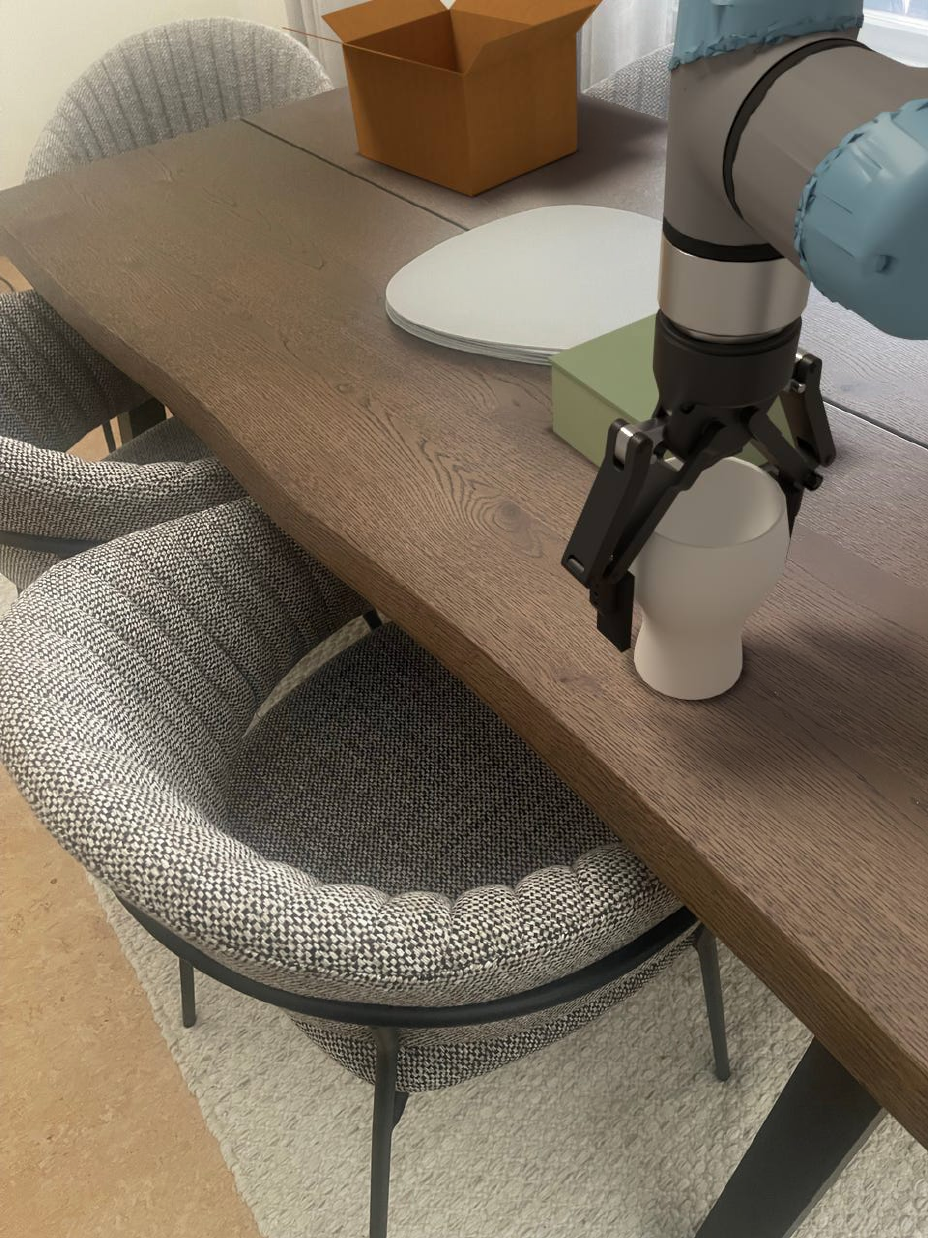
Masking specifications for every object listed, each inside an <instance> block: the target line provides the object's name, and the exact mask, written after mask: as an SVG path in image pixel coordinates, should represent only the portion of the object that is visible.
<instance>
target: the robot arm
mask: <svg viewBox="0 0 928 1238" xmlns="http://www.w3.org/2000/svg"><path fill="white" fill-rule="evenodd" d="M864 21H865V14H864V0H678V7H677V17H676V25H675V34H674V41H673V49H672V56H671V57H670V59H669V60H668V66H667V69H668V72H669V73H670V79H669V95H668V97H669V99H668V119H667V135H666V138H667V139H666V154H665V155H666V157H665V172H664V173H665V175H664V192H663V193H664V197H663V212H662V225H661V235H660V252H659V266H658V282H657V298H656V299H657V303H658V306H659V308H658V310H657V312H656V313H657V314H656V318H655V333H654V349H653V373H654V376H655V380H656V383H657V387H658V391H659V399H658V402H657V405H656V408H655V410H654V412H653V414H652V417H651V419H649V420H646V421H643V422H640V423H637V424H634V425H631V424H630V423H628V422H627V421H626V420H624V419H622V418H618V419H616V420H614V421H613V422H612V423H611V425H610V427H609V430H608V436H607V444H606V451H605V457H604V460H603V462H602V464H601V467H599V469H598V471H597V474H596V476H595V478H594V480H593V483H592V486H591V488H590V490H589V493H588V495H587V498H586V500H585V502H584V505H583V507H582V509H581V512H580V514H579V516H578V518H577V521H576V524H575V526H574V528H573V531H572V533H571V535H570V538H569V540H568V541H567V542H568V543H567V544H566V547H565V550H564V552H563V555H562V556H561V559H560V565H561V566H562V567H563V569H565V570H566V571H567V573H569V574H570V575H571V576H572V577H573V578H574V579H576V581H577V582H578V583H579V584H581V585H582V586H583V587H584V588H585V589H586V590H588V592H589V595H588V602H589V603H590V605H591V606H592V607H593V608H594V609H595V610H596V630H597V631H599V633H601V635H602V636H603V637H604V638H605V639H606V640H608V642H610V644H612V645H613V646H614V647H615V648H616V649H617V650H618V652H620V653H621V654H622V653H625V652H626V651H628V650H630V649H632V635H633V617H634V602H635V601H634V600H635V598H634V587H635V576H634V575H633V574H632V573H630V572H629V571H628V569H629V567H630V566H631V564H632V563H633V561H634V560H635V558H636V557H637V555H638V554H639V552H640V551H641V549H642V548H643V546H644V545H645V543H646V542H647V540H648V539H649V537H650V536H651V534H652V533H653V531H654V530H655V528H656V527H657V525H658V524H659V522H660V521H661V519H662V518H663V516H664V515H665V513H666V512H667V510H668V509H669V507H670V506H671V504H672V503H673V501H674V500H675V498H676V497H677V495H678V494H679V493H680V492H681V491H687V490H689V489H690V488H691V487H692V486H693V484H694V483H695V481H696V480H697V478H698V477H699V475H700V474H701V472H702V471H704V470H706V469H708V468H710V467H712V466H713V465H715V464H716V463H718V462H719V461H720V460H722V459H723V458H728V457H733V456H735V455H737V454H739V453H741V452H742V451H743V447H744V446H745V445H746V444H747V443H748V442H750V443H751V444H752V445H753V446H754V447H755V448H756V449H757V450H758V451H759V452H760V453H761V454H762V455H763V456H764V457H765V458H766V459H767V460H768V462H769V463H770V464H771V466H772V467H773V468H774V469H776V470H778V472H777V473H776V472H775V471H773V470H769V471H766V472H767V473H768V474H769V475H770V476H771V477H772V478H773V479H774V480H776V481H777V482H778V484H779V486H780V487H781V489H782V491H783V493H784V495H785V498H786V507H787V517H788V527H789V536H790V542H789V545H790V544H791V539H792V535H793V530H794V526H795V521H796V517H797V516H798V515H799V512H800V511H801V506H802V501H803V498H804V493H805V489H806V490H808V491H809V492H811V493H812V492H815V491H816V490H818V489H819V488H820V487H821V486H822V484H823V481H824V476H823V475H822V474H820V473H819V472H817V471H816V469H817V468H818V467H820V466H821V467H823V468H828V467H830V466H831V465H832V464H833V463H834V462H835V460H836V458H837V449H836V445H835V442H834V437H833V435H832V430H831V426H830V423H829V419H828V415H827V411H826V407H825V403H824V400H823V396H822V392H821V388H820V387H821V386H820V385H821V379H822V370H823V360H822V358H820V357H819V356H816V355H814V354H813V353H811V352H809V351H807V350H806V349H803V348H802V347H800V346H799V343H800V338H801V334H802V333H801V332H802V328H803V318H802V315H803V313H804V311H805V310H806V308H807V307H808V302H809V295H810V290H811V285H813V287H814V288H815V289H816V291H818V292H819V293H820V294H821V295H822V296H823V297H825V298H827V299H828V301H830V302H831V303H833V304H834V303H837V304H839V305H840V306H841V307H842V308H844V310H846V311H852V312H854V313H855V314H857V315H858V317H861V318H862V319H863V320H864V321H866V322H868V323H869V324H870V325H872V326H873V327H874V328H876V329H877V330H879V332H882V333H884V334H886V335H888V336H891V337H894V338H897V339H902V340H907V341H928V67H923V66H922V67H921V66H919V67H918V66H911V65H907V64H905V63H902V62H901V61H898V60H896V59H893V58H892V57H889V56H887V55H886V54H883V53H880V52H878V51H876V50H875V49H872V48H870V46H868V45H866V44H865V43H863V42H861V41H859V40H858V37H859V33H860V30H861V29H863V26H864ZM811 283H812V284H811ZM778 395H779V398H780V401H781V404H782V407H783V410H784V414H785V417H786V420H787V423H788V426H789V429H790V432H791V435H792V439H793V442H794V445H795V449H794V448H793V447H792V446H791V445H790V444H789V443H788V441H787V440H786V439H785V438H784V437H783V436H782V432H781V431H780V430H779V429H778V428H777V427H776V425H775V424H774V423H773V422H772V421H771V420H770V419H769V416H768V415H767V413H768V411H769V410H770V408H771V406H772V405H773V403H774V402H775V400H776V398H777V397H778ZM667 449H668V450H669V451H670V453H671V454H672V455H673V456H674V457H675V458H677V459H678V460H679V461H681V462H682V463H684V464H683V466H682V467H681V469H680V470H679V471H678V470H676V469H675V468H674V467H672V466H671V465H670V464H668V463H667V462H666V461H665V460H664V454H665V452H666V451H667ZM789 549H790V546H789V547H788V551H787V556H786V559H787V558H788V553H789ZM786 562H787V560H786V561H785V564H786Z"/></svg>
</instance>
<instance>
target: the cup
mask: <svg viewBox="0 0 928 1238" xmlns="http://www.w3.org/2000/svg"><path fill="white" fill-rule="evenodd" d="M665 461H666V462H667V463H668V464H670V465H671V466H672V467H674V468H675V469H676V470H678V471H679V470H680V469H681V467H682V466H683V464H684V463H682V462H681V461H679V460H678V459H677V458H675V457H673V458H670V459H667V460H665ZM767 472H768V471H766V470H764V469H763V468H760V466H758V467H757V466H755V465H754V464H752V463H749V462H746V461H743V460H740V459H738V458H735V457H728V458H723V459H722V460H720V461H719V462H718V463H716V464H715V465H713V466H712V467H710V468H708V469H706V470H704V471H702V472H701V474H700V475H699V477H698V478H697V480H696V481H695V483H694V484H693V486H692V487H691V488H690V489H689V490H687V491H681V492H680V493H679V494H678V495H677V497H676V498H675V500H674V501H673V503H672V504H671V506H670V507H669V509H668V510H667V512H666V513H665V515H664V516H663V518H662V519H661V521H660V522H659V524H658V525H657V527H656V528H655V530H654V531H653V533H652V534H651V536H650V537H649V539H648V540H647V542H646V543H645V545H644V546H643V548H642V549H641V551H640V552H639V554H638V555H637V557H636V558H635V560H634V561H633V563H632V564H631V566H630V567H629V569H628V571H629V572H630V573H632V574H633V575H634V576H635V587H634V600H635V602H636V603H637V604H638V606H639V607H640V610H641V611H640V612H641V618H642V619H641V621H642V622H641V626H640V629H639V632H638V636H637V638H636V643H635V647H634V651H633V652H634V654H633V655H634V656H633V662H634V666H635V669H636V672H637V673H638V675H639V676H640V678H641V679H642V680H643V681H644V682H645V683H646V684H647V685H648V686H649V687H650V688H652V689H653V690H655V691H657V692H659V693H661V694H663V695H665V696H667V697H672V698H674V699H679V700H690V701H698V700H707V699H711V698H713V697H716V696H719V695H722V694H723V693H725V692H726V691H728V690H729V689H730V688H732V687H733V686H734V685H735V683H736V682H737V681H738V680H739V678H740V676H741V672H742V669H743V641H742V631H743V629H744V626H745V623H746V621H747V620H748V619H749V618H750V617H751V616H753V615H754V614H755V613H756V612H757V611H758V610H759V609H760V607H762V605H763V604H764V602H766V601H767V599H768V598H769V596H770V595H771V593H772V592H773V590H774V588H775V587H776V585H777V584H778V583H779V580H780V579H781V577H782V574H783V571H784V568H785V565H786V563H785V561H786V562H787V558H786V556H787V557H788V554H787V551H788V552H789V549H788V547H789V548H790V544H789V542H790V543H791V540H790V536H789V527H788V517H787V507H786V498H785V495H784V493H783V491H782V489H781V487H780V486H779V484H778V482H777V481H776V480H774V479H773V478H772V477H771V476H770V475H769V474H768V473H767Z"/></svg>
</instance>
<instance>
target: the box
mask: <svg viewBox="0 0 928 1238" xmlns="http://www.w3.org/2000/svg"><path fill="white" fill-rule="evenodd" d="M602 2H603V0H455V1H454V2H453V3H452V5H450V7H449V8H448V7H447V6H446V5H445V4H444V3H443V2H442V1H441V0H368V1H365V2H361V3H358V4H355V5H351V6H348V7H345V8H342V9H339V10H336V11H332V12H329V13H326V14H323V15H321V16H320V18H322V20H323V21H324V22H325V24H327V25H328V27H329V28H330V29H331V30H332V31H333V32H334V33H335V34H336V36H337V37H338V38H339V39H340V40H341V41H338V40H334V39H330V38H326V37H322V36H319V35H316V34H312V33H307V32H303V31H299V30H295V29H291V28H287V27H284V26H283V27H281V29H283V30H287V31H291V32H295V33H298V34H302V35H304V36H305V35H306V36H309V37H313V38H317V39H320V40H321V39H322V40H325V41H329V42H332V43H335V44H340V45H341V49H342V55H343V61H344V68H345V73H346V79H347V85H348V86H347V87H348V91H349V99H350V104H351V111H352V117H353V123H354V129H355V134H356V141H357V146H358V147H357V149H358V152H359V153H360V156H363V157H364V158H368V159H370V160H373V161H376V162H379V163H381V164H384V165H387V166H389V167H392V168H394V169H397V170H400V171H402V172H405V173H407V174H411V175H413V176H415V177H418V178H421V179H424V180H426V181H428V182H431V183H434V184H437V185H439V186H442V187H444V188H448V189H449V190H453V191H455V192H458V193H461V194H464V195H465V196H466V195H467V196H469V197H473V196H476V195H479V194H481V193H483V192H486V191H488V190H490V189H493V188H495V187H497V186H499V185H501V184H504V183H506V182H509V181H511V180H513V179H516V178H518V177H520V176H523V175H524V174H525V175H526V174H527V173H530V172H532V171H534V170H536V169H538V168H541V167H543V166H545V165H548V164H550V163H553V162H555V161H557V160H559V159H561V158H563V157H566V156H568V155H571V154H573V153H575V152H577V149H578V33H579V31H580V30H581V29H582V27H583V26H584V25H585V23H586V22H587V21H588V20H589V18H590V17H591V16H592V14H594V12H595V11H596V9H597V8H598V7H599V6H600V4H601V3H602Z"/></svg>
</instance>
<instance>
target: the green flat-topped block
mask: <svg viewBox="0 0 928 1238" xmlns="http://www.w3.org/2000/svg"><path fill="white" fill-rule="evenodd" d="M656 314H657V312H655V313H653V314H650V315H648V316H646V317H643V318H641V319H638V320H635V321H633V322H631V323H629V324H625V325H624V326H621V327H619V328H616V329H614V330H612V331H611V330H610V331H609V332H606V333H603V334H602V335H599V336H597V337H594V338H591V339H589V340H587V341H585V342H582V343H580V344H577V345H575V346H572V347H569V348H568V349H564V350H562V351H560V352H557V353H555V354H552V355H551V356H548V357H547V361H548V362H549V363H550V365H551V395H552V397H551V399H552V400H551V402H552V432H553V433H554V434H556V435H557V436H558V437H560V438H561V439H562V440H564V441H565V442H566V443H568V445H570V446H572V447H573V448H574V449H575V450H577V451H578V452H579V453H580V454H582V456H584V457H585V458H586V459H588V460H590V462H592V463H593V464H594V465H596V466H597V468H600V467H601V464H602V462H603V460H604V457H605V451H606V444H607V436H608V430H609V427H610V425H611V423H612V422H613V421H614V420H616V419H618V418H622V419H624V420H626V421H627V422H628V423H630V424H631V425H634V424H637V423H640V422H643V421H646V420H649V419H651V417H652V414H653V412H654V410H655V408H656V405H657V402H658V399H659V391H658V387H657V383H656V380H655V376H654V373H653V349H654V333H655V318H656ZM767 415H768V416H769V419H770V420H771V421H772V422H773V423H774V424H775V425H776V427H777V428H778V429H779V430H780V431H781V432H782V436H783V437H784V438H785V439H786V440H787V441H788V443H789V444H790V445H791V446H792V447H793V448H794V449H796V448H795V445H794V442H793V439H792V435H791V432H790V429H789V426H788V423H787V420H786V417H785V414H784V410H783V407H782V404H781V401H780V398H779V395H778V397H777V398H776V400H775V402H774V403H773V405H772V406H771V408H770V410H769V411H768V413H767ZM673 457H674V456H673V455H672V454H671V453H670V451H669V450H668V449H667V451H666V452H665V454H664V460H667V459H670V458H673ZM733 457H735V458H738V459H740V460H743V461H746V462H749V463H752V464H754V465H755V466H757V467H760V466H762V465H764V464H766V463H768V462H769V461H768V460H767V459H766V458H765V457H764V456H763V455H762V454H761V453H760V452H759V451H758V450H757V449H756V448H755V447H754V446H753V445H752V444H751V443H750V442H748V443H747V444H746V445H745V446H744V447H743V451H742V452H741V453H739V454H737V455H735V456H733Z"/></svg>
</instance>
